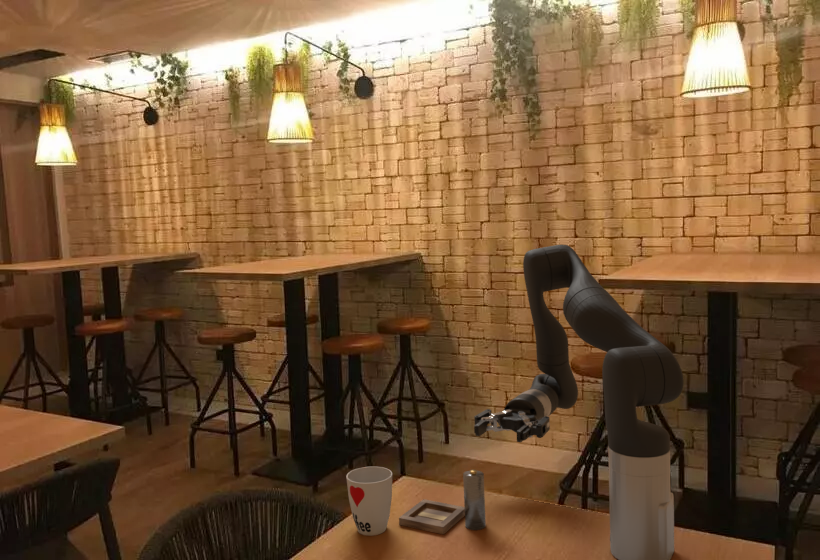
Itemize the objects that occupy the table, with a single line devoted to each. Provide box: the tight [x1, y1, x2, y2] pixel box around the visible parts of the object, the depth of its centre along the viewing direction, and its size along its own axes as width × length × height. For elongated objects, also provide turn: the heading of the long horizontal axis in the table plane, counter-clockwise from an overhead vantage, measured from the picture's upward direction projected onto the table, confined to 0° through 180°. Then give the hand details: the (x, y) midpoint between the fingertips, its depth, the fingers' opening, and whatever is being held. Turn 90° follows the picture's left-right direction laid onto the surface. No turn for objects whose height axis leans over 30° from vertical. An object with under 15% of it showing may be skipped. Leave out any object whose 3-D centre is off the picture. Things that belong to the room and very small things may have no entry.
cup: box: [345, 466, 393, 536], centre depth 122 cm, size 8×8×10 cm
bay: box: [398, 498, 465, 535], centre depth 126 cm, size 9×9×1 cm
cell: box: [462, 469, 487, 531], centre depth 122 cm, size 4×4×10 cm
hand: (497, 434), depth 131 cm, fingers open, 8 cm apart
